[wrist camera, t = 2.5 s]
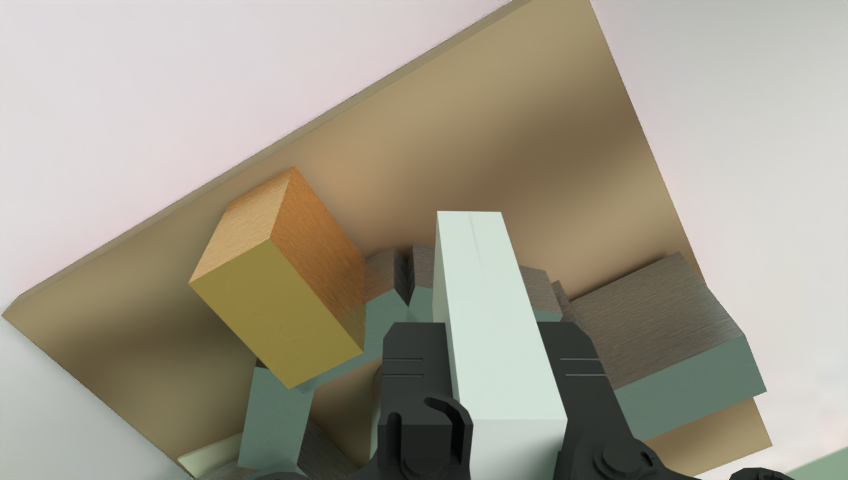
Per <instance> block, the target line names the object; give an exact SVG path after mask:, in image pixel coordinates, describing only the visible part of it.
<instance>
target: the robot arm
mask: <svg viewBox="0 0 848 480" xmlns="http://www.w3.org/2000/svg"><path fill="white" fill-rule="evenodd" d="M432 310H433V322H394V323H393V325H392V326H391V328H390V329H389V331H388V332H387V334H386V335H385V337H384V338H383V354H382V382H381V410H380V418H379V421H378V424H377V449H376V451H375V453H374V455H373V457H372V458H371V459H370V460H369V461H368V463H367V464H366V465H365V466H364V467H362V468H361V469H359V470H358V471H356V472H355V473H353V474H352V475H349V476H347V477H344V478H342V479H339V480H701V479H697V478H694V477H690V476H686V475H683V474H680V473H678V472H675V471H672V470H670V469H668V468H666V467H665V466H664V464H663V463H662V461H661V460H660V458H659V457H658V456H657V454H656V453H655V451H653V450H652V449H651V448H649V447H648V446H647V445H646V444H644V443H643V442H642V441H640V440H638V439H636V438H634V437H633V435H632V433H631V430H630V428H629V426H628V423H627V421H626V419H625V417H624V414H623V412H622V410H621V407H620V405H619V403H618V400H617V398H616V396H615V393H614V391H613V389H612V387H611V384H610V382H609V380H608V377H606V375H605V374H606V373H605V370H604V368H603V366H602V363H601V361H599V357H598V354H597V352H596V350H595V347H594V345H593V343H592V340H591V338H590V337H589V336H588V335H587V334H586V333H584V332H583V331H582V330H581V329H580V328H579V327H578V326H577V325H576V324H575V323H574V322H536V320H535V317H534V314H533V310H532V307H531V304H530V301H529V298H528V295H527V292H526V289H525V286H524V282H523V279H522V276H521V273H520V270H519V267H518V264H517V261H516V258H515V255H514V251H513V248H512V245H511V242H510V239H509V236H508V233H507V230H506V227H505V223H504V220H503V217H502V214H501V212H473V211H437V223H436V242H435V262H434V281H433V301H432ZM254 480H312V479H311V478H309V477H306V476H304V475H301V474H299V473H296V472H274V473H270V474H267V475H263V476H260V477H257V478H256V479H254ZM729 480H794V479H792V478H790V477H788V476H786V475H784V474H782V473H781V472H777V471H773V470H769V469H765V468H761V467H760V468H743V469H741V470H739V471H737V472H735V473H733V474H732V475H731V477H730V479H729Z"/></svg>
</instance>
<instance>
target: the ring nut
mask: <svg viewBox="0 0 848 480" xmlns="http://www.w3.org/2000/svg"><path fill="white" fill-rule="evenodd" d="M434 262H435V247H430V246H425V245H421V244H416V243H413V244H412V247H411V251H410V254H409V257H408V261H407V263H406V262H405V261H404V259H403V258H402V256H401V255H400V254H399V252H398V251H397V249H396V248H395V246H392V247H390V248H388V249H386V250H384V251H382V252H381V253H379V254H377V255H375V256H373V257H371V258H369V259H367V260H365V259H364V257H363V256H362V255H361V253H360V252H359V251H358V249H357V248H356V247H355V245H354V244H353V243H352V241H351V240H350V239H349V237H348V236H347V235H346V233H345V232H344V231H343V229H342V228H341V227H340V225H339V224H338V223H337V221H336V220H335V219H334V217H333V216H332V215H331V213H330V212H329V211H328V209H327V208H326V207H325V205H324V204H323V203H322V201H321V200H320V199H319V197H318V196H317V195H316V193H315V192H314V191H313V189H312V188H311V187H310V185H309V184H308V182H307V181H306V180H305V178H304V177H303V176H302V174H301V173H300V172H299V170H298V169H297V168H296V166H295V165H294V166H292V167H290V168H289V169H287V170H285V171H284V172H282V173H280V174H278V175H277V176H275V177H273V178H272V179H270V180H268V181H266V182H265V183H263V184H261V185H260V186H258V187H256V188H254V189H253V190H251V191H249V192H248V193H246V194H244V195H242V196H241V197H239V198H237V199H236V200H234V201H232V202H230V203H229V204H228V206H227V208H226V210H225V212H224V214H223V216H222V218H221V220H220V222H219V224H218V226H217V228H216V230H215V232H214V234H213V236H212V238H211V240H210V242H209V244H208V246H207V247H206V249H205V251H204V253H203V255H202V257H201V259H200V261H199V263H198V265H197V267H196V269H195V271H194V273H193V275H192V277H191V279H190V281H189V283H188V284H189V285H190V286H191V287H192V288H193V289H194V291H195V292H196V293H197V294H198V295H199V296H200V297H201V298H202V299H203V300H204V301H205V302H206V303H207V304H208V305H209V306H210V307H211V308H212V310H213V311H214V312H215V313H216V314H217V315H218V316H219V317H220V318H221V319H222V320H223V321H224V322H225V323H226V324H227V325H228V326H229V327H230V328H231V330H232V331H233V332H234V333H235V334H236V335H237V336H238V337H239V338H240V339H241V340H242V341H243V342H244V343H245V344H246V345H247V346H248V347H249V348H250V350H251V351H252V352H253V353H254V354H255V355H256V356H257V360H256V364H255V368H254V373H253V379H252V385H251V391H250V396H249V402H248V408H247V413H246V419H245V425H244V431H243V436H242V442H241V448H240V454H239V458H238V459H236V460H234V461H231V462H229V463H227V464H225V465H223V466H221V467H219V468H217V469H214V470H212V471H210V472H208V473H206V474H204V475H202V476H200V477H197V478H195V479H194V480H254V479H256V478H257V477H260V476H263V475H267V474H270V473H274V472H296V473H299V474H301V475H304V476H306V477H309V478H311V479H312V480H339V479H342V478H344V477H347V476H349V475H352V474H353V473H355V472H356V471H358V470H359V469H361V468H357V467H356V466H355V465H354V464H353V463H352V462H351V461H350V460H349V458H348V457H347V456H346V455H345V454H344V453H343V452H342V451H341V450H340V449H339V448H338V447H337V446H336V445H335V444H334V443H333V442H332V441H331V440H330V439H329V438H328V437H327V435H326V434H325V433H324V432H323V431H322V430H321V429H320V428H319V427H318V426H317V425H316V424H315V423H314V422H313V421H312V420H311V419H310V418H309V417H308V415H309V411H310V407H311V403H312V399H313V395H314V391H315V388H317V387H319V386H321V385H323V384H325V383H327V382H329V381H331V380H333V379H336V378H338V377H340V376H342V375H344V374H346V373H348V372H350V371H352V370H354V369H356V368H358V367H360V366H362V365H364V364H367V363H369V362H371V361H373V360H375V359H377V358H379V357H381V356H382V354H383V338H384V337H385V335H386V334H387V332H388V331H389V329H390V328H391V326H392V325H393V323H394V322H433V310H432V301H433V281H434ZM518 267H519V270H520V273H521V276H522V279H523V282H524V286H525V289H526V292H527V295H528V298H529V301H530V304H531V307H532V310H533V314H534V317H535V320H536V322H574V323H575V324H576V325H577V326H578V327H579V328H580V329H581V330H582V331H583V332H584V333H586V334H587V335H588V336H589V337H590V338H591V340H592V343H593V345H594V347H595V350H596V352H597V354H598V357H599V361H601V363H602V366H603V368H604V370H605V373H606V374H605V375H606V377H608V380H609V382H610V384H611V387H612V389H613V391H614V393H615V396H616V398H617V400H618V403H619V405H620V407H621V410H622V412H623V414H624V417H625V419H626V421H627V423H628V426H629V428H630V430H631V433H632V435H633V437H634V438H636V439H638V440H640V441H642V442H643V441H646V440H648V439H651V438H653V437H655V436H658V435H660V434H663V433H665V432H668V431H670V430H673V429H675V428H678V427H680V426H683V425H685V424H687V423H690V422H692V421H695V420H697V419H700V418H702V417H705V416H707V415H710V414H712V413H715V412H717V411H720V410H722V409H724V408H727V407H729V406H732V405H734V404H737V403H739V402H742V401H744V400H747V399H749V398H752V397H754V396H756V395H759V394H761V393H764V392H766V391H767V390H766V388H765V385H764V382H763V380H762V377H761V375H760V372H759V370H758V367H757V365H756V362H755V360H754V357H753V354H752V352H751V349H750V347H749V344H748V342H747V339H746V337H745V334H744V333H743V332H742V330H741V329H740V328H739V327H738V325H737V324H736V323H735V322H734V320H733V319H732V318H731V316H730V315H729V314H728V313H727V311H726V310H725V309H724V308H723V306H722V305H721V304H720V303H719V301H718V300H717V299H716V297H715V296H714V295H713V294H712V292H711V291H710V290H709V289H708V287H707V286H706V285H705V284H704V282H703V281H702V280H701V278H700V277H699V276H698V275H697V273H696V272H695V271H694V270H693V268H692V267H691V266H690V264H689V263H688V262H687V261H686V259H685V258H684V257H683V256H682V254H681V253H680V252H679V251H678V252H676V253H674V254H672V255H670V256H667V257H665V258H663V259H661V260H659V261H657V262H655V263H653V264H650V265H648V266H646V267H644V268H642V269H640V270H638V271H635V272H633V273H631V274H629V275H627V276H625V277H623V278H621V279H618V280H616V281H614V282H612V283H610V284H608V285H606V286H604V287H601V288H599V289H597V290H595V291H593V292H591V293H589V294H587V295H584V296H582V297H580V298H578V299H576V300H574V301H572V302H571V301H570V299H569V297H568V295H567V293H566V292H565V290H564V288H563V286H562V285H561V283H560V281H559V280H557V281H555V282H553V283H550V281H549V278H548V276H547V273H546V271H545V270H540V269H535V268H531V267H526V266H521V265H518Z"/></svg>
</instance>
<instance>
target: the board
mask: <svg viewBox="0 0 848 480" xmlns="http://www.w3.org/2000/svg"><path fill="white" fill-rule="evenodd" d="M294 165H295V166H296V168H297V169H298V170H299V172H300V173H301V174H302V176H303V177H304V178H305V180H306V181H307V182H308V184H309V185H310V187H311V188H312V189H313V191H314V192H315V193H316V195H317V196H318V197H319V199H320V200H321V201H322V203H323V204H324V205H325V207H326V208H327V209H328V211H329V212H330V213H331V215H332V216H333V217H334V219H335V220H336V221H337V223H338V224H339V225H340V227H341V228H342V229H343V231H344V232H345V233H346V235H347V236H348V237H349V239H350V240H351V241H352V243H353V244H354V245H355V247H356V248H357V249H358V251H359V252H360V253H361V255H362V256H363V257H364V259H365V260H367V259H369V258H371V257H373V256H375V255H377V254H379V253H381V252H382V251H384V250H386V249H388V248H390V247H392V246H395V248H396V249H397V251H398V252H399V254H400V255H401V256H402V258H403V259H404V261H405V262H406V263H407V261H408V257H409V254H410V251H411V247H412V244H413V243H416V244H421V245H425V246H430V247H435V242H436V223H437V211H473V212H501V214H502V217H503V220H504V223H505V227H506V230H507V233H508V236H509V239H510V242H511V245H512V248H513V251H514V255H515V258H516V261H517V264H518V265H521V266H526V267H531V268H535V269H540V270H545V271H546V273H547V276H548V278H549V281H550V283H553V282H555V281H557V280H559V281H560V283H561V285H562V286H563V288H564V290H565V292H566V293H567V295H568V297H569V299H570V301H571V302H572V301H574V300H576V299H578V298H580V297H582V296H584V295H587V294H589V293H591V292H593V291H595V290H597V289H599V288H601V287H604V286H606V285H608V284H610V283H612V282H614V281H616V280H618V279H621V278H623V277H625V276H627V275H629V274H631V273H633V272H635V271H638V270H640V269H642V268H644V267H646V266H648V265H650V264H653V263H655V262H657V261H659V260H661V259H663V258H665V257H667V256H670V255H672V254H674V253H676V252H678V251H679V252H680V253H681V254H682V256H683V257H684V258H685V259H686V261H687V262H688V263H689V264H690V266H691V267H692V268H693V270H694V271H695V272H696V273H697V275H698V276H699V277H700V278H701V280H702V281H703V282H704V284H705V285H706V282H705V280H704V278H703V275H702V273H701V270H700V268H699V265H698V263H697V261H696V258H695V256H694V253H693V251H692V248H691V246H690V244H689V241H688V239H687V236H686V234H685V231H684V229H683V227H682V224H681V222H680V219H679V217H678V214H677V212H676V210H675V207H674V205H673V202H672V200H671V197H670V195H669V193H668V190H667V188H666V185H665V183H664V180H663V178H662V176H661V173H660V171H659V168H658V166H657V163H656V161H655V159H654V156H653V154H652V151H651V149H650V146H649V144H648V142H647V139H646V137H645V134H644V132H643V129H642V127H641V125H640V122H639V120H638V117H637V115H636V112H635V110H634V108H633V105H632V103H631V100H630V98H629V95H628V93H627V91H626V88H625V86H624V83H623V81H622V78H621V76H620V74H619V71H618V69H617V66H616V64H615V61H614V59H613V57H612V54H611V52H610V49H609V47H608V44H607V42H606V40H605V37H604V35H603V32H602V30H601V27H600V25H599V23H598V20H597V18H596V15H595V13H594V10H593V8H592V6H591V3H590V1H589V0H513V1H512V2H510V3H508V4H506V5H505V6H503V7H501V8H500V9H498V10H496V11H495V12H493V13H491V14H490V15H488V16H486V17H485V18H483V19H481V20H480V21H478V22H476V23H475V24H473V25H471V26H470V27H468V28H466V29H465V30H463V31H461V32H460V33H458V34H456V35H455V36H453V37H451V38H450V39H448V40H446V41H445V42H443V43H441V44H440V45H438V46H436V47H435V48H433V49H431V50H430V51H428V52H426V53H424V54H423V55H421V56H419V57H418V58H416V59H414V60H413V61H411V62H409V63H408V64H406V65H404V66H403V67H401V68H399V69H398V70H396V71H394V72H393V73H391V74H389V75H388V76H386V77H384V78H383V79H381V80H379V81H378V82H376V83H374V84H373V85H371V86H369V87H368V88H366V89H364V90H363V91H361V92H359V93H358V94H356V95H354V96H353V97H351V98H349V99H347V100H346V101H344V102H342V103H341V104H339V105H337V106H336V107H334V108H332V109H331V110H329V111H327V112H326V113H324V114H322V115H321V116H319V117H317V118H316V119H314V120H312V121H311V122H309V123H307V124H306V125H304V126H302V127H301V128H299V129H297V130H296V131H294V132H292V133H291V134H289V135H287V136H286V137H284V138H282V139H281V140H279V141H277V142H276V143H274V144H272V145H271V146H269V147H267V148H265V149H264V150H262V151H260V152H259V153H257V154H255V155H254V156H252V157H250V158H249V159H247V160H245V161H244V162H242V163H240V164H239V165H237V166H235V167H234V168H232V169H230V170H229V171H227V172H225V173H224V174H222V175H220V176H219V177H217V178H215V179H214V180H212V181H210V182H209V183H207V184H205V185H204V186H202V187H200V188H199V189H197V190H195V191H194V192H192V193H190V194H189V195H187V196H185V197H183V198H182V199H180V200H178V201H177V202H175V203H173V204H172V205H170V206H168V207H167V208H165V209H163V210H162V211H160V212H158V213H157V214H155V215H153V216H152V217H150V218H148V219H147V220H145V221H143V222H142V223H140V224H138V225H137V226H135V227H133V228H132V229H130V230H128V231H127V232H125V233H123V234H122V235H120V236H118V237H117V238H115V239H113V240H112V241H110V242H108V243H107V244H105V245H103V246H101V247H100V248H98V249H96V250H95V251H93V252H91V253H90V254H88V255H86V256H85V257H83V258H81V259H80V260H78V261H76V262H75V263H73V264H71V265H70V266H68V267H66V268H65V269H63V270H61V271H60V272H58V273H56V274H55V275H53V276H51V277H50V278H48V279H46V280H45V281H43V282H41V283H40V284H38V285H36V286H35V287H33V288H31V289H30V290H28V291H26V292H24V293H23V294H21V295H19V296H18V297H17V299H16V300H15V301H14V302H13V303H12V304H11V305H10V306H9V307H8V308H7V310H6V311H5V312H4V313H3V314H2V315H1V316H2V317H4V318H5V319H6V320H7V321H8V322H9V323H11V324H12V325H13V326H14V327H15V328H17V329H18V330H19V331H20V332H21V333H22V334H24V335H25V336H26V337H27V338H28V339H30V340H31V341H32V342H33V343H34V344H35V345H37V346H38V347H39V348H40V349H41V350H43V351H44V352H45V353H46V354H47V355H48V356H50V357H51V358H52V359H53V360H54V361H56V362H57V363H58V364H59V365H60V366H61V367H63V368H64V369H65V370H66V371H67V372H69V373H70V374H71V375H72V376H73V377H74V378H76V379H77V380H78V381H79V382H80V383H82V384H83V385H84V386H85V387H86V388H87V389H89V390H90V391H91V392H92V393H93V394H95V395H96V396H97V397H98V398H99V399H100V400H102V401H103V402H104V403H105V404H106V405H108V406H109V407H110V408H111V409H112V410H113V411H115V412H116V413H117V414H118V415H119V416H121V417H122V418H123V419H124V420H125V421H126V422H128V423H129V424H130V425H131V426H132V427H134V428H135V429H136V430H137V431H138V432H139V433H141V434H142V435H143V436H144V437H145V438H147V439H148V440H149V441H150V442H151V443H152V444H154V445H155V446H156V447H157V448H158V449H160V450H161V451H162V452H163V453H164V454H165V455H167V456H168V457H169V458H170V459H171V460H173V461H174V462H175V463H176V464H177V465H178V466H180V467H181V468H182V469H183V470H184V471H186V472H187V473H188V474H189V475H190V476H191V477H193V478H194V479H195V478H197V477H200V476H202V475H204V474H206V473H208V472H210V471H212V470H214V469H217V468H219V467H221V466H223V465H225V464H227V463H229V462H231V461H234V460H236V459H238V458H239V454H240V448H241V442H242V436H243V431H244V425H245V419H246V413H247V408H248V402H249V396H250V391H251V385H252V379H253V373H254V368H255V364H256V360H257V356H256V355H255V354H254V353H253V352H252V351H251V350H250V348H249V347H248V346H247V345H246V344H245V343H244V342H243V341H242V340H241V339H240V338H239V337H238V336H237V335H236V334H235V333H234V332H233V331H232V330H231V328H230V327H229V326H228V325H227V324H226V323H225V322H224V321H223V320H222V319H221V318H220V317H219V316H218V315H217V314H216V313H215V312H214V311H213V310H212V308H211V307H210V306H209V305H208V304H207V303H206V302H205V301H204V300H203V299H202V298H201V297H200V296H199V295H198V294H197V293H196V292H195V291H194V289H193V288H192V287H191V286H190V285H189V284H188V283H189V281H190V279H191V277H192V275H193V273H194V271H195V269H196V267H197V265H198V263H199V261H200V259H201V257H202V255H203V253H204V251H205V249H206V247H207V246H208V244H209V242H210V240H211V238H212V236H213V234H214V232H215V230H216V228H217V226H218V224H219V222H220V220H221V218H222V216H223V214H224V212H225V210H226V208H227V206H228V204H229V203H230V202H232V201H234V200H236V199H237V198H239V197H241V196H242V195H244V194H246V193H248V192H249V191H251V190H253V189H254V188H256V187H258V186H260V185H261V184H263V183H265V182H266V181H268V180H270V179H272V178H273V177H275V176H277V175H278V174H280V173H282V172H284V171H285V170H287V169H289V168H290V167H292V166H294ZM706 286H707V285H706ZM381 382H382V356H381V357H379V358H377V359H375V360H373V361H371V362H369V363H367V364H364V365H362V366H360V367H358V368H356V369H354V370H352V371H350V372H348V373H346V374H344V375H342V376H340V377H338V378H336V379H333V380H331V381H329V382H327V383H325V384H323V385H321V386H319V387H317V388H315V391H314V395H313V399H312V403H311V407H310V411H309V415H308V417H309V418H310V419H311V420H312V421H313V422H314V423H315V424H316V425H317V426H318V427H319V428H320V429H321V430H322V431H323V432H324V433H325V434H326V435H327V437H328V438H329V439H330V440H331V441H332V442H333V443H334V444H335V445H336V446H337V447H338V448H339V449H340V450H341V451H342V452H343V453H344V454H345V455H346V456H347V457H348V458H349V460H350V461H351V462H352V463H353V464H354V465H355V466H356V467H357V468H362V467H364V466H365V465H366V464H367V463H368V461H369V460H370V459H371V458H372V457H373V455H374V453H375V451H376V449H377V424H378V421H379V418H380V410H381ZM643 443H644V444H646V445H647V446H648V447H649V448H651V449H652V450H653V451H655V453H656V454H657V456H658V457H659V458H660V460H661V461H662V463H663V464H664V466H665V467H666V468H668V469H670V470H672V471H675V472H678V473H680V474H683V475H686V476H690V477H693V476H696V475H699V474H701V473H704V472H706V471H709V470H711V469H714V468H717V467H719V466H722V465H724V464H727V463H730V462H732V461H735V460H737V459H740V458H743V457H745V456H748V455H750V454H753V453H756V452H758V451H761V450H763V449H766V448H768V447H771V446H773V445H772V443H771V440H770V438H769V435H768V433H767V431H766V428H765V426H764V423H763V421H762V418H761V416H760V414H759V411H758V409H757V406H756V404H755V401H754V399H753V397H752V398H749V399H747V400H744V401H742V402H739V403H737V404H734V405H732V406H729V407H727V408H724V409H722V410H720V411H717V412H715V413H712V414H710V415H707V416H705V417H702V418H700V419H697V420H695V421H692V422H690V423H687V424H685V425H683V426H680V427H678V428H675V429H673V430H670V431H668V432H665V433H663V434H660V435H658V436H655V437H653V438H651V439H648V440H646V441H643Z"/></svg>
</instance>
